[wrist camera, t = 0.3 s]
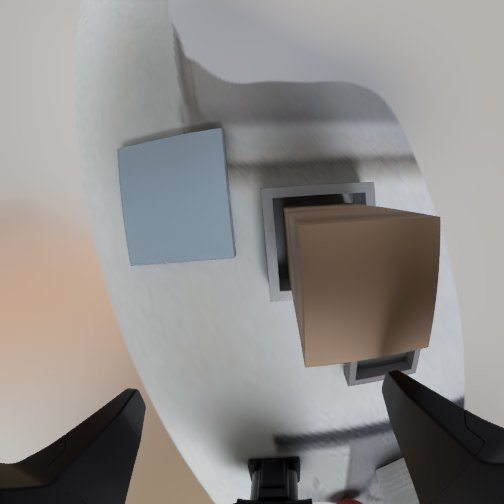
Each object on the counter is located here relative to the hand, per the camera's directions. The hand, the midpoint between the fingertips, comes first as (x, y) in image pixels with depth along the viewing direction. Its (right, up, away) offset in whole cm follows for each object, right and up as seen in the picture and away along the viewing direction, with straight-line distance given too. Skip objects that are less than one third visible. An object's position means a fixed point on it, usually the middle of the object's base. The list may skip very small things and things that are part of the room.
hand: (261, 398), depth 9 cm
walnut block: (+5, +6, +13) cm, 15 cm away
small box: (+22, -27, +19) cm, 39 cm away
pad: (-7, +9, +13) cm, 18 cm away
